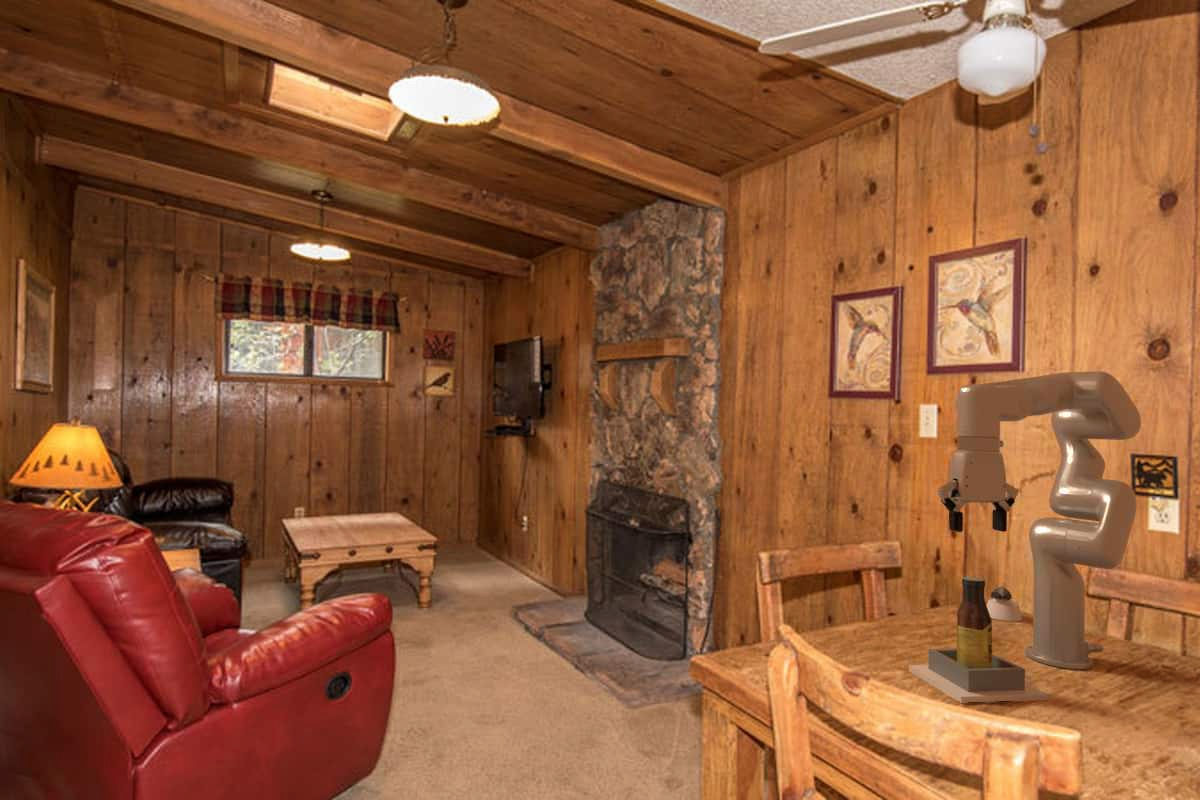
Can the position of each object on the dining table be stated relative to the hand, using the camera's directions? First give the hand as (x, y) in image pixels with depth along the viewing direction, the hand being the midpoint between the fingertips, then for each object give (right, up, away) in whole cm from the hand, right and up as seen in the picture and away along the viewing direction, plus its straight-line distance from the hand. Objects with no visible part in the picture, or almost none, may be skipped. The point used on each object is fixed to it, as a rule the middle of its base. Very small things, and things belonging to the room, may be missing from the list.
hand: (977, 530), depth 136 cm
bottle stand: (-1, -31, -1) cm, 31 cm away
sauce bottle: (-1, -30, -1) cm, 30 cm away
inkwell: (+32, -33, +45) cm, 64 cm away
